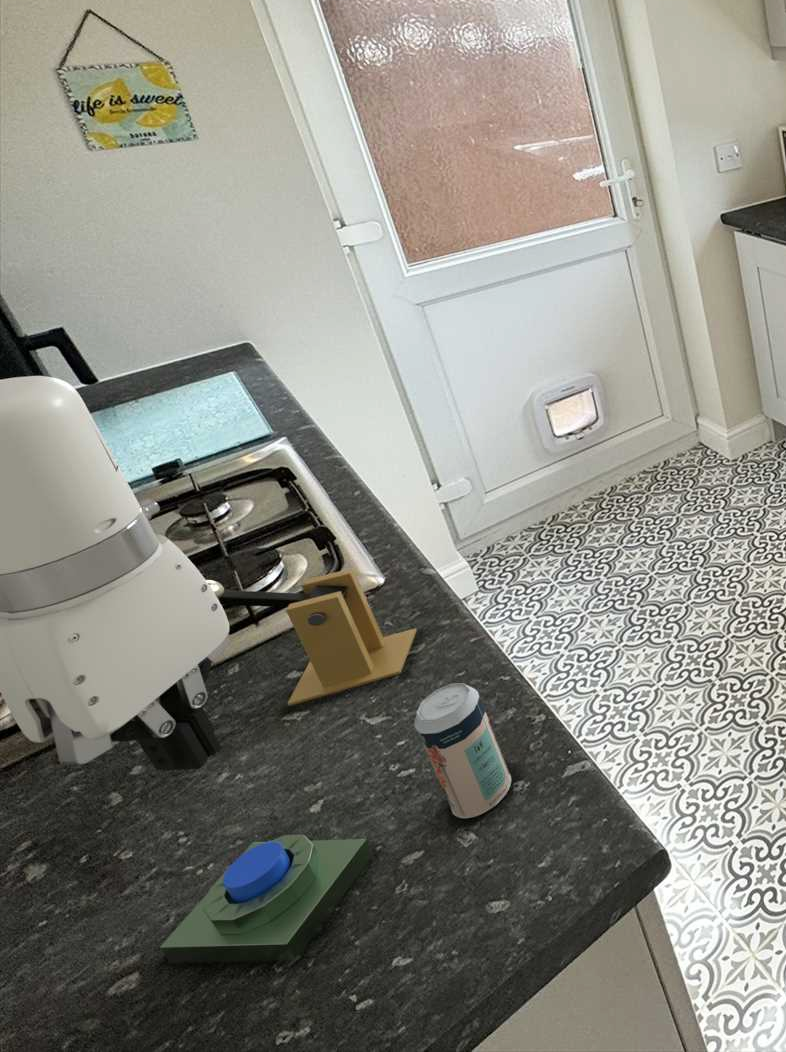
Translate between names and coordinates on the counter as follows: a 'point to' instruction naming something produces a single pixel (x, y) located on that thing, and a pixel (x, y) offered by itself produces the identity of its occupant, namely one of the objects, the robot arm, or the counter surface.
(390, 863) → the counter surface
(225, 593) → the black silver long piece
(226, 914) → the button box
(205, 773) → the counter surface
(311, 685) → the bracket
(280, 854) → the light button
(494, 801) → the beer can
